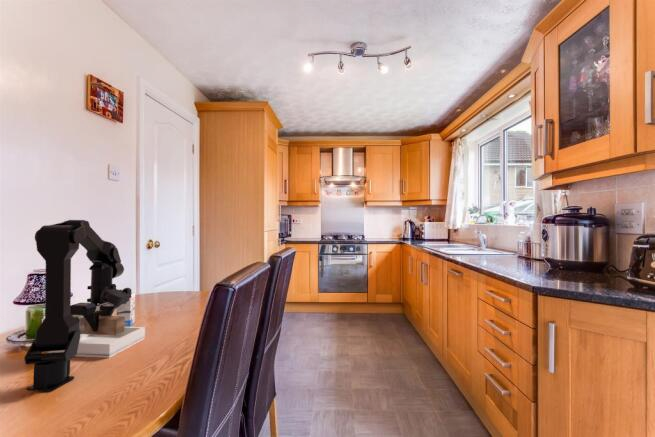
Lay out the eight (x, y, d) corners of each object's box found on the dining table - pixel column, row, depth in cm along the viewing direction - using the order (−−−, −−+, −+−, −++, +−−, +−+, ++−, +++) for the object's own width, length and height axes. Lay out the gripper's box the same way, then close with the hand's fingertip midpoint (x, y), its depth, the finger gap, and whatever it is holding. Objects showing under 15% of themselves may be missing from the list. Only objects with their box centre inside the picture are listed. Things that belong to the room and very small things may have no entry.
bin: (109, 357, 92) (109, 344, 92) (47, 355, 93) (48, 342, 94) (144, 338, 108) (145, 327, 108) (91, 336, 109) (92, 325, 110)
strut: (73, 333, 99) (74, 318, 100) (84, 329, 103) (84, 315, 103) (115, 335, 98) (116, 319, 98) (124, 331, 102) (125, 316, 102)
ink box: (130, 327, 120) (131, 297, 121) (115, 328, 118) (116, 298, 119) (135, 321, 128) (135, 292, 129) (121, 322, 126) (122, 293, 127)
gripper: (101, 287, 91) (100, 340, 91) (143, 278, 110) (142, 321, 110) (67, 287, 92) (65, 339, 92) (114, 277, 111) (113, 320, 110)
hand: (100, 329), depth 101 cm, fingers closed on strut, 4 cm apart
